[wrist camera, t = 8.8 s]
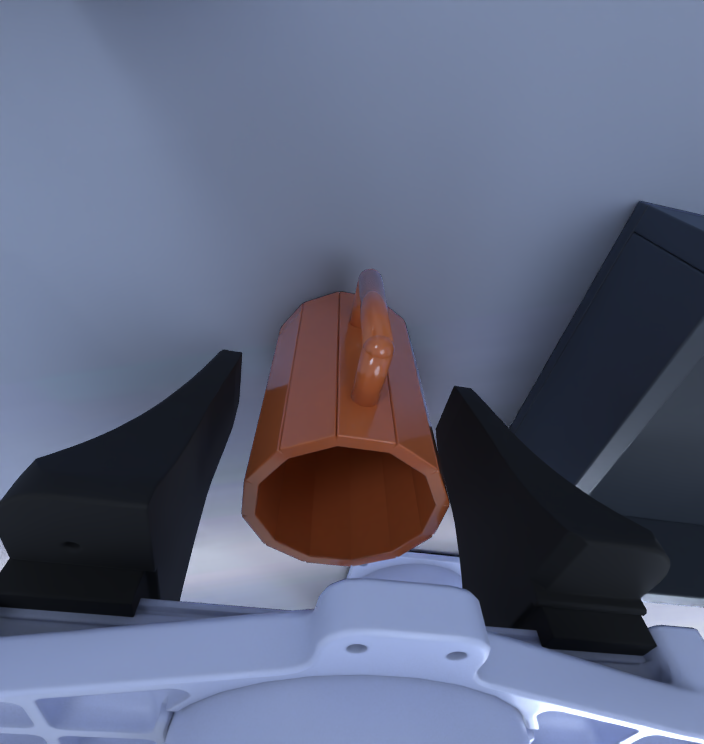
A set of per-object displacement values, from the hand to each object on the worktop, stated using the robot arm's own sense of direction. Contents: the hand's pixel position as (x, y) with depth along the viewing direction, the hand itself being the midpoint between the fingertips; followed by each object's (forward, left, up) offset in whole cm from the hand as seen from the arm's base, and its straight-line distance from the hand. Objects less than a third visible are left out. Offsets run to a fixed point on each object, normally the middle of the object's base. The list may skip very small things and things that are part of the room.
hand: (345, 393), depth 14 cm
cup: (0, 0, -2) cm, 2 cm away
